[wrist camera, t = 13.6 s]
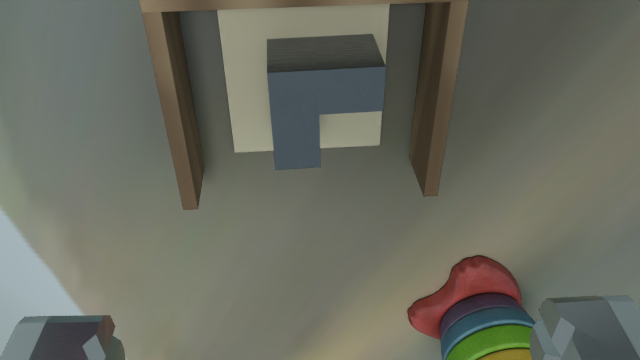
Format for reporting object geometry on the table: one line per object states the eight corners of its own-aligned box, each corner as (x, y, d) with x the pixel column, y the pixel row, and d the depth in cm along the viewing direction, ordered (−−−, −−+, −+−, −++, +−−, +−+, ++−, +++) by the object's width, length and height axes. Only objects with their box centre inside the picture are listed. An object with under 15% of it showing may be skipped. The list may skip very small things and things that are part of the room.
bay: (447, -43, 34) (471, -17, 30) (421, 156, 43) (437, 195, 39) (153, -34, 32) (138, -6, 29) (191, 167, 42) (183, 209, 38)
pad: (388, -1, 35) (389, 1, 35) (378, 142, 42) (379, 145, 41) (217, 5, 34) (216, 7, 34) (234, 149, 41) (234, 152, 41)
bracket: (266, 39, 35) (266, 73, 31) (372, 33, 36) (385, 66, 32) (274, 129, 40) (275, 169, 36) (368, 124, 40) (380, 163, 36)
